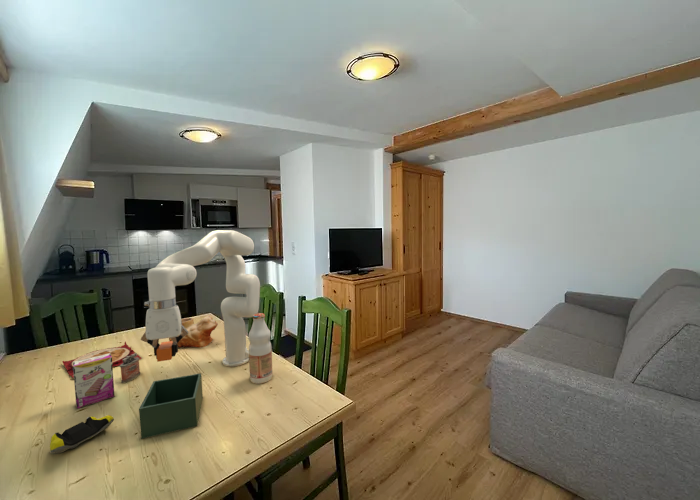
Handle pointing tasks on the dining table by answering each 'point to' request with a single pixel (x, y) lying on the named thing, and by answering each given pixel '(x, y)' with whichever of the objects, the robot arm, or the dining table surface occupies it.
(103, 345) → the dining table surface
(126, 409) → the dining table surface
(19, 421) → the dining table surface
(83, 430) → the black and yellow piece
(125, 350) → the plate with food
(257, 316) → the fruit juice
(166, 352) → the orange rectangular block
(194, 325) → the ceramic vessel
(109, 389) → the candy bar box
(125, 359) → the red metal can
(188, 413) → the trash bin
